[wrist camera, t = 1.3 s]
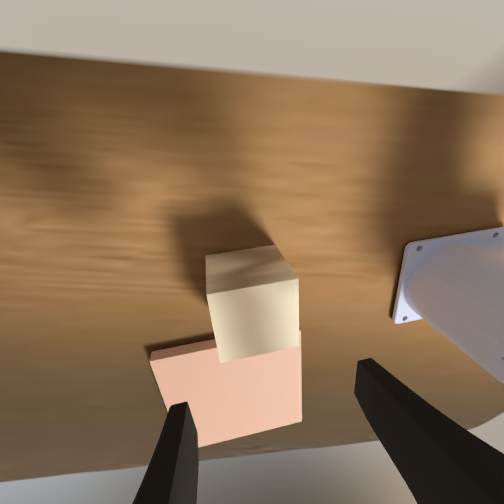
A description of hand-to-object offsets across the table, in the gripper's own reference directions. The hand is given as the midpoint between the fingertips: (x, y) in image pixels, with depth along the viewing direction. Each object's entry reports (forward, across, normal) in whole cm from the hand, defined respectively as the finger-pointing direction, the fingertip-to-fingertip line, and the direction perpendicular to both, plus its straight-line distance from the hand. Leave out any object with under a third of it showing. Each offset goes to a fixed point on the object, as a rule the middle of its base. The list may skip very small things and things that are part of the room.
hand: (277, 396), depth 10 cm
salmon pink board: (+9, +2, +11) cm, 15 cm away
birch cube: (+10, 0, 0) cm, 10 cm away
